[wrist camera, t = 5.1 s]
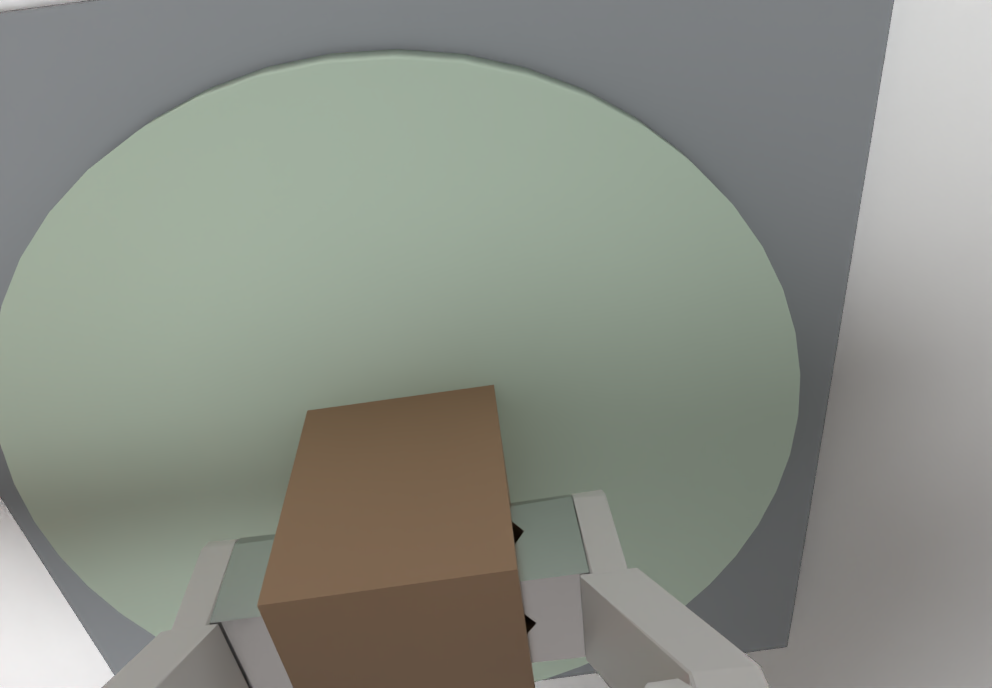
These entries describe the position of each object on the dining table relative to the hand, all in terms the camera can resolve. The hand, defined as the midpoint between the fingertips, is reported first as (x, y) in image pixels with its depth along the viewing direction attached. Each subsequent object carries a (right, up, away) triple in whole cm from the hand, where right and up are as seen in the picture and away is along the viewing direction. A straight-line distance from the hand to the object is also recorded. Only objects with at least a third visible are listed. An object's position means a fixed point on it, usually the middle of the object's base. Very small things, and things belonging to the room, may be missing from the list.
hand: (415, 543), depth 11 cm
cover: (0, +1, +2) cm, 3 cm away
